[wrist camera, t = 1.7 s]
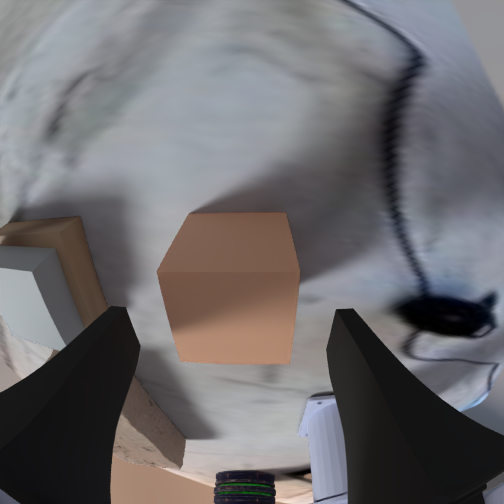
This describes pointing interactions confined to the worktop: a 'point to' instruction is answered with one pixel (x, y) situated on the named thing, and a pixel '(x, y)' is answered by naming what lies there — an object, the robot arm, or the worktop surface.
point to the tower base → (63, 258)
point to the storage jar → (244, 487)
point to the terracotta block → (232, 288)
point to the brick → (146, 431)
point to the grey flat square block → (37, 297)
